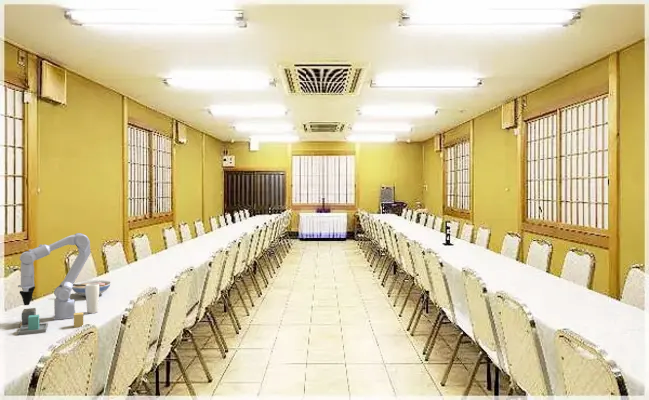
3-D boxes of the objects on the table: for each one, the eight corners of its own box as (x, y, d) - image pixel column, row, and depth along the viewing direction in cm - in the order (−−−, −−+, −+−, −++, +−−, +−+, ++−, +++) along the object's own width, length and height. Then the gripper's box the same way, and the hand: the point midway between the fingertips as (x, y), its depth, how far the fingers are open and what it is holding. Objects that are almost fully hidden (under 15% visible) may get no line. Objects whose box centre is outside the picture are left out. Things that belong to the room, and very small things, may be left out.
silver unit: (38, 321, 247) (38, 307, 247) (36, 326, 238) (36, 311, 237) (22, 322, 244) (21, 308, 244) (19, 328, 235) (19, 313, 235)
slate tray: (47, 326, 238) (47, 322, 238) (45, 332, 228) (45, 329, 228) (21, 328, 234) (21, 325, 234) (17, 335, 224) (17, 331, 224)
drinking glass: (101, 310, 268) (101, 283, 267) (96, 314, 261) (96, 285, 261) (88, 310, 268) (88, 283, 267) (83, 314, 261) (83, 285, 260)
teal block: (39, 327, 234) (39, 314, 234) (38, 329, 230) (38, 316, 230) (29, 328, 232) (29, 315, 232) (28, 330, 229) (28, 317, 228)
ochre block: (83, 324, 242) (83, 312, 242) (83, 326, 238) (83, 314, 238) (74, 325, 240) (74, 313, 240) (73, 327, 236) (73, 315, 236)
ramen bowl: (120, 292, 314) (119, 279, 314) (100, 300, 291) (100, 286, 291) (82, 291, 316) (82, 278, 316) (60, 299, 294) (60, 285, 293)
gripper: (20, 274, 249) (20, 300, 249) (15, 279, 236) (16, 307, 236) (36, 273, 252) (36, 299, 252) (32, 278, 239) (33, 306, 239)
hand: (27, 303), depth 245 cm, fingers open, 7 cm apart
